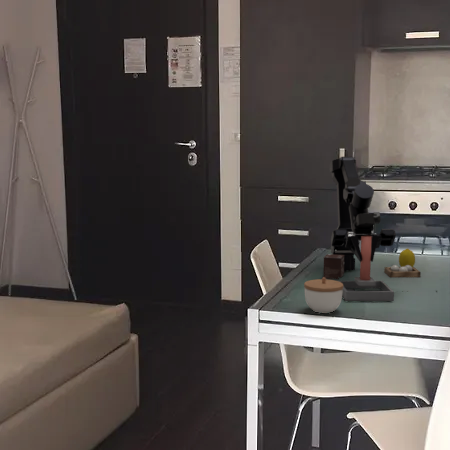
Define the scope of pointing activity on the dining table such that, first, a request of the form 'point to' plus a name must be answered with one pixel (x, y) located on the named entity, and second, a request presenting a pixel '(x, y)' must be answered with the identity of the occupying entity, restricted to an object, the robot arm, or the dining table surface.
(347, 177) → the robot arm
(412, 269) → the pebble
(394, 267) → the grey sphere
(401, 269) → the grey ball
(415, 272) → the pebble tray
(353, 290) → the bin
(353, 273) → the dining table surface
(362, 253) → the red post on base
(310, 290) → the lidded jar
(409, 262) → the lemon
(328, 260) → the box
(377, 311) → the dining table surface
